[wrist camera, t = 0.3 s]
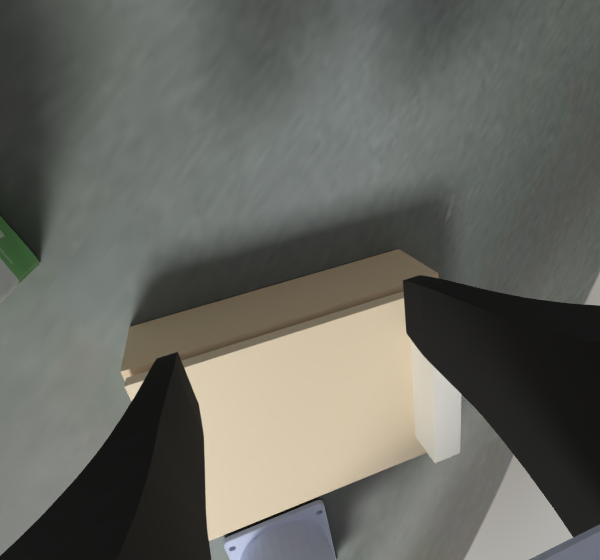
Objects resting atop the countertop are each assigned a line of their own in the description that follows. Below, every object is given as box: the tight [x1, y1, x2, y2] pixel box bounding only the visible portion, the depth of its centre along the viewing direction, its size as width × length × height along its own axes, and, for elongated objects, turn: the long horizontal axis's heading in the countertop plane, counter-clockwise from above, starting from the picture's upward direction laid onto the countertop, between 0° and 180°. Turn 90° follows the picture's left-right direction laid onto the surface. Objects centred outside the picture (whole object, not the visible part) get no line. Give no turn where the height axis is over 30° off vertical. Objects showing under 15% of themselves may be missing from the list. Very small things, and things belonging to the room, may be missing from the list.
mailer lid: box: [125, 291, 461, 541], centre depth 20 cm, size 12×16×3 cm
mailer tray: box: [120, 249, 439, 381], centre depth 23 cm, size 12×16×4 cm
